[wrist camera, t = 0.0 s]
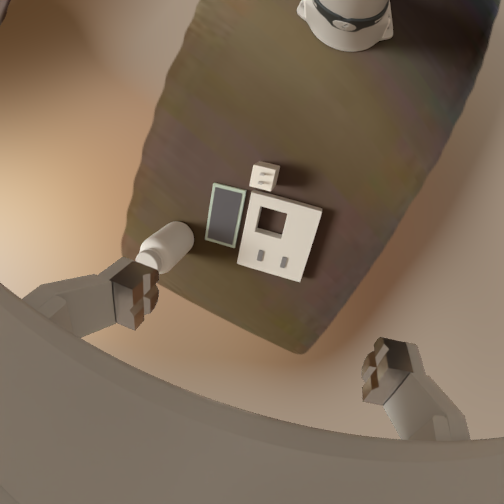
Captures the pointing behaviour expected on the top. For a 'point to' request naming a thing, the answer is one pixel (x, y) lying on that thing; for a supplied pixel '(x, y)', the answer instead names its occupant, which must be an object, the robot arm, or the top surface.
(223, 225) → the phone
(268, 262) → the outlet plate
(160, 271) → the pill bottle
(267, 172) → the charger
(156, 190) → the top surface
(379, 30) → the robot arm
